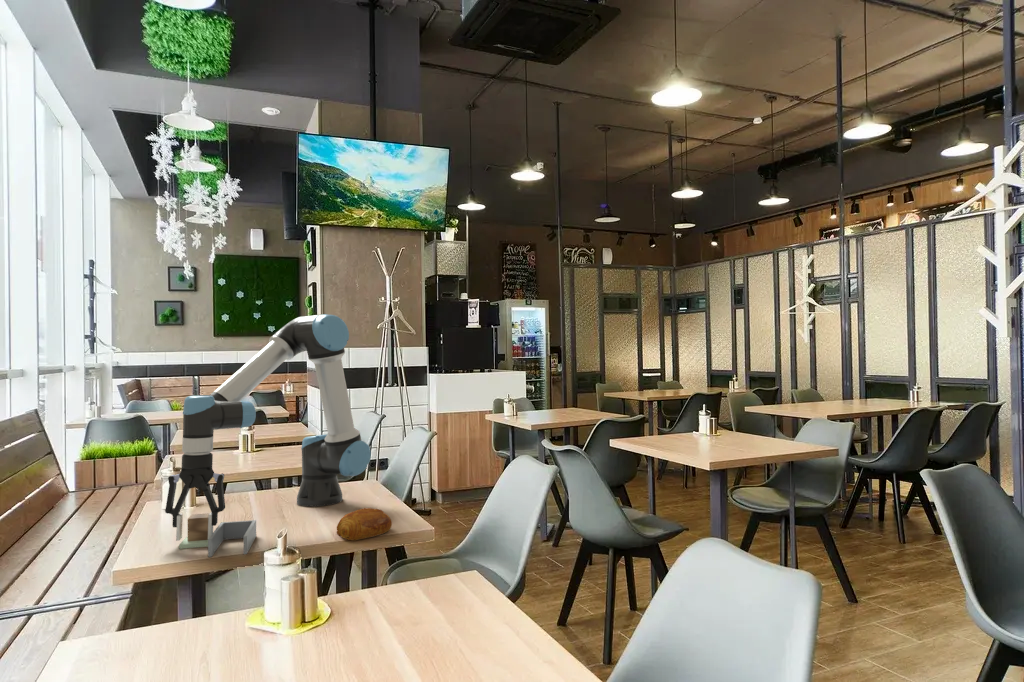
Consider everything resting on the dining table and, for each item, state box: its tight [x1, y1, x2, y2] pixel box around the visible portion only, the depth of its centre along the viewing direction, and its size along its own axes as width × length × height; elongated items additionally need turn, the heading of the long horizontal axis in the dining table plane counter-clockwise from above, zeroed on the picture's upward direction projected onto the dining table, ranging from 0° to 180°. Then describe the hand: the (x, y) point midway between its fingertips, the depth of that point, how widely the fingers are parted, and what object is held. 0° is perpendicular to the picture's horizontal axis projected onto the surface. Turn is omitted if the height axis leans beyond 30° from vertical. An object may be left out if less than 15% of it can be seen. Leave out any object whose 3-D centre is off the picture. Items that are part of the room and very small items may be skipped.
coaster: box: [178, 536, 208, 550], centre depth 175 cm, size 8×8×1 cm
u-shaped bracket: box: [207, 519, 257, 558], centre depth 172 cm, size 9×17×4 cm, turn 14°
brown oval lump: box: [336, 507, 393, 541], centre depth 183 cm, size 14×16×8 cm
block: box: [187, 512, 211, 541], centre depth 176 cm, size 5×5×6 cm
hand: (194, 538), depth 175 cm, fingers open, 7 cm apart
